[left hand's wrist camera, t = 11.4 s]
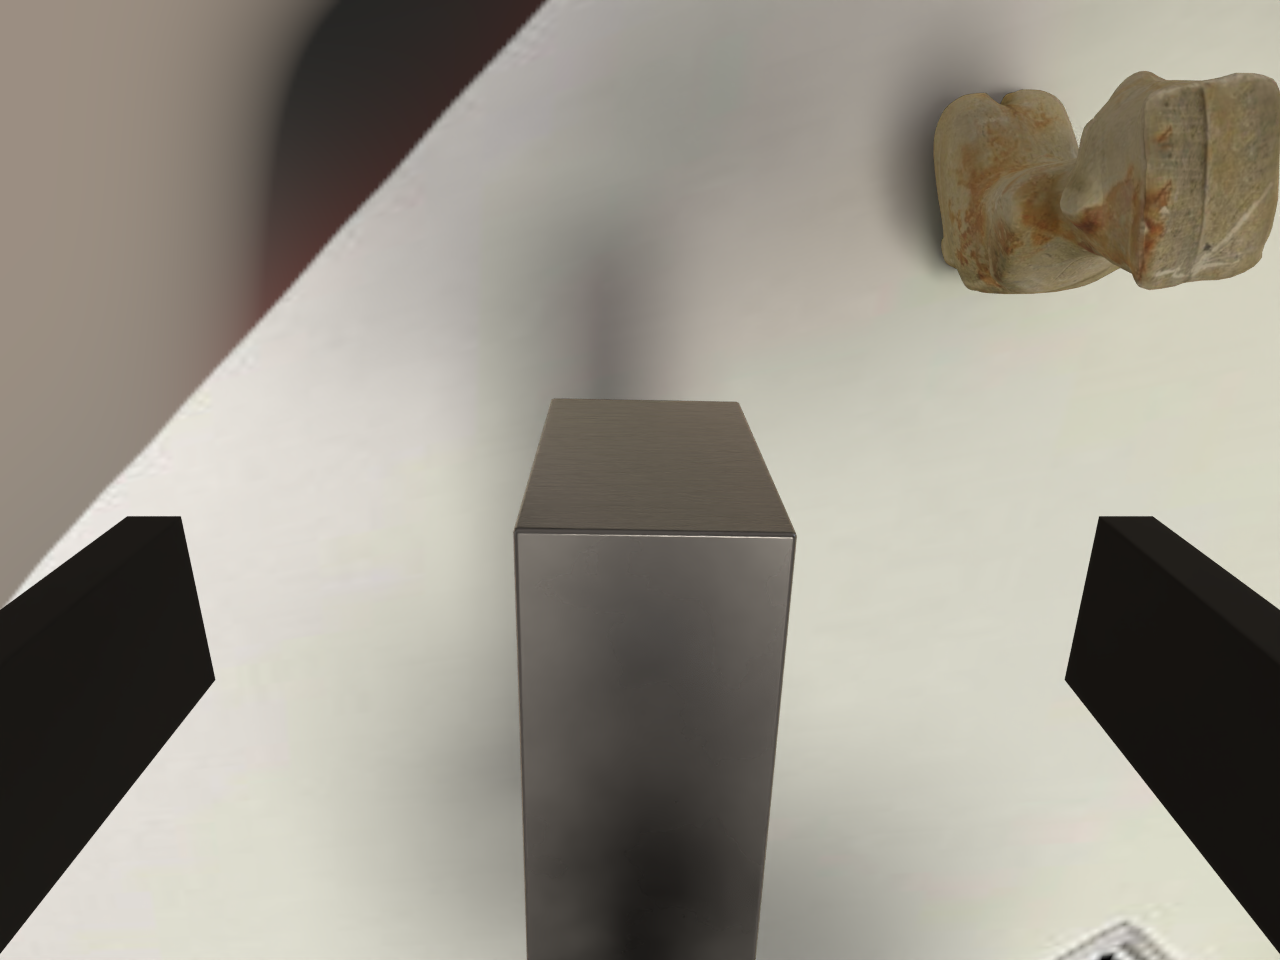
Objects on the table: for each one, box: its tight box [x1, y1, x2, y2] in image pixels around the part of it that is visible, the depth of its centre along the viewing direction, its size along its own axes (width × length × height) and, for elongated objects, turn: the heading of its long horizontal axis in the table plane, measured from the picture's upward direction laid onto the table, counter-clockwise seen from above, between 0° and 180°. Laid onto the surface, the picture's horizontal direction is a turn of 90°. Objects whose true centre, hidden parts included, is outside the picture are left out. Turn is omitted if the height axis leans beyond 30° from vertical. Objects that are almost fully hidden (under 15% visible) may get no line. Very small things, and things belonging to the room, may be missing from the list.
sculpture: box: [933, 71, 1280, 294], centre depth 28 cm, size 6×7×15 cm
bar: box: [513, 398, 797, 960], centre depth 24 cm, size 26×5×9 cm, turn 179°
